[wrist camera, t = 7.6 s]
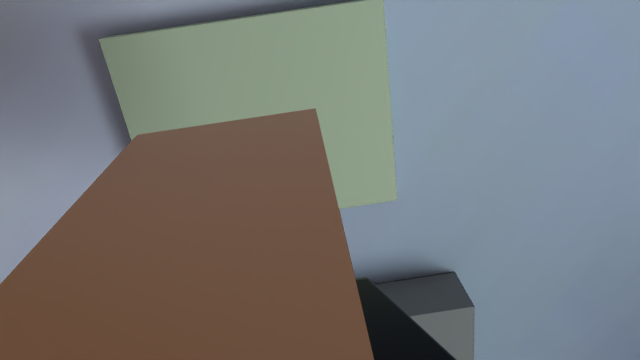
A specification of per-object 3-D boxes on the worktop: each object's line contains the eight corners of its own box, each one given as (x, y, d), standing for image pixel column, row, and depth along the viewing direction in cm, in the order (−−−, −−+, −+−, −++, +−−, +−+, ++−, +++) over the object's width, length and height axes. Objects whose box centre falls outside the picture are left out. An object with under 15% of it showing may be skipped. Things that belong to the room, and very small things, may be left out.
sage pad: (166, 225, 20) (161, 235, 19) (106, 36, 17) (98, 39, 16) (393, 191, 20) (397, 200, 19) (378, -4, 17) (383, -2, 16)
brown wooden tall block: (192, 311, 12) (7, 993, 4) (136, 134, 10) (-473, 800, 2) (340, 288, 12) (454, 917, 4) (315, 108, 10) (442, 652, 2)
